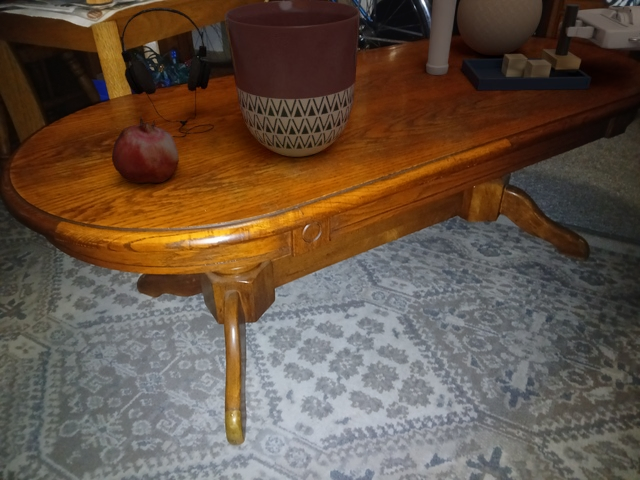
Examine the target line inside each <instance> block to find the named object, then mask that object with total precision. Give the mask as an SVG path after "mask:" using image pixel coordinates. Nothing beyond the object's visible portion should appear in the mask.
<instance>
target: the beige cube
mask: <svg viewBox="0 0 640 480" xmlns="http://www.w3.org/2000/svg"><path fill="white" fill-rule="evenodd" d="M550 70H551V64H550V63H549V62H547V61H546V60H527V62H526V67H525V71H524V76H523V77H549V74H550Z"/></svg>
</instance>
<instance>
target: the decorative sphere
mask: <svg viewBox="0 0 640 480" xmlns="http://www.w3.org/2000/svg"><path fill="white" fill-rule="evenodd" d="M542 13H543V0H459V2H458V6H457V12H456V23H457V29H458V33H459V34H460V37H461V38H462V40H463V42H464V43H465V44H466V45H467V46H468V47H469V48H470V49H472V50H473V51H474V52H476V53H479V54H481V55H485V56H490V57H498V56H504V54H511V53H512V52H514V51H516V50H518V49H519V48H521V47H523V46H524V45H525V44H526V43H527V42H528V41H529V40H530V39H531V38H532V36H533V35H534V34H535V32H536V30H537V28H538V26H539V24H540V21H541V18H542Z"/></svg>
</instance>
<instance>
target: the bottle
mask: <svg viewBox="0 0 640 480" xmlns="http://www.w3.org/2000/svg"><path fill="white" fill-rule="evenodd" d="M456 7H457V0H432V5H431V17H430V31H429V32H430V33H429V41H428V53H427V54H428V56H427V62H426V63H425V64H426V65H425V70H426V73H427V74H428V75H431V76H442V75H446V74H448V71H449V63H448V62H449V56H450V49H451V43H452V37H453V36H452V35H453V29H454V23H455V21H454V20H455V13H456Z"/></svg>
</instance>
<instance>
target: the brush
mask: <svg viewBox="0 0 640 480" xmlns="http://www.w3.org/2000/svg"><path fill="white" fill-rule="evenodd" d="M580 7H581V4H577V3H567V4H566V5H565V9H564V14H563V17H562V21H561V22H562V26H561V30H560V31H559V35H558V38H557V43H556V48H543V49H542V50H541V55H540V58H541V59H542V60H546V61H547V62H549V63H550V64H551V70H552V71H553V72H555V73H576V72H577V69H580V66H581V62H582V58H580V57H578V56H576V55H574V54H573V53H572V52H570V46H571V43H572V40H573V37H569V36H567V35H566V34H565V31H566V27H568V26H575V23H576V19H577V15H578V11H579V10H580Z"/></svg>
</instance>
